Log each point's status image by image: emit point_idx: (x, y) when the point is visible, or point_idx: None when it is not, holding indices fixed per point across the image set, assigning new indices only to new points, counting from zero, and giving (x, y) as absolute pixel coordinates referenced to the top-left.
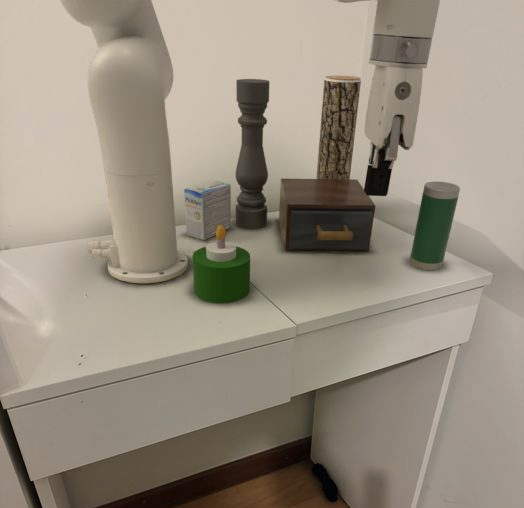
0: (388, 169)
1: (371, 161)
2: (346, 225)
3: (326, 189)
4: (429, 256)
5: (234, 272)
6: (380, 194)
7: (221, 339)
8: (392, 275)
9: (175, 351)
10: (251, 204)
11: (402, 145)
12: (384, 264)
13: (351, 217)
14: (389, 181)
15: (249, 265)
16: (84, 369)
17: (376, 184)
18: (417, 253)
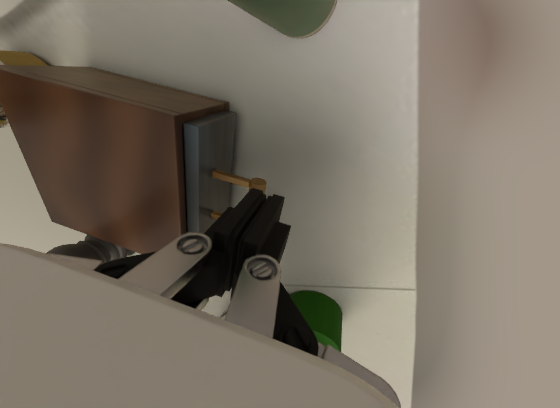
0: (256, 253)
1: (207, 299)
2: (212, 170)
3: (88, 175)
4: (331, 3)
5: (340, 344)
6: (280, 214)
7: (408, 343)
8: (332, 106)
9: (409, 368)
10: (125, 251)
11: (204, 312)
12: (285, 98)
13: (203, 168)
14: (273, 218)
15: (324, 326)
16: (403, 403)
17: (281, 255)
18: (307, 31)
